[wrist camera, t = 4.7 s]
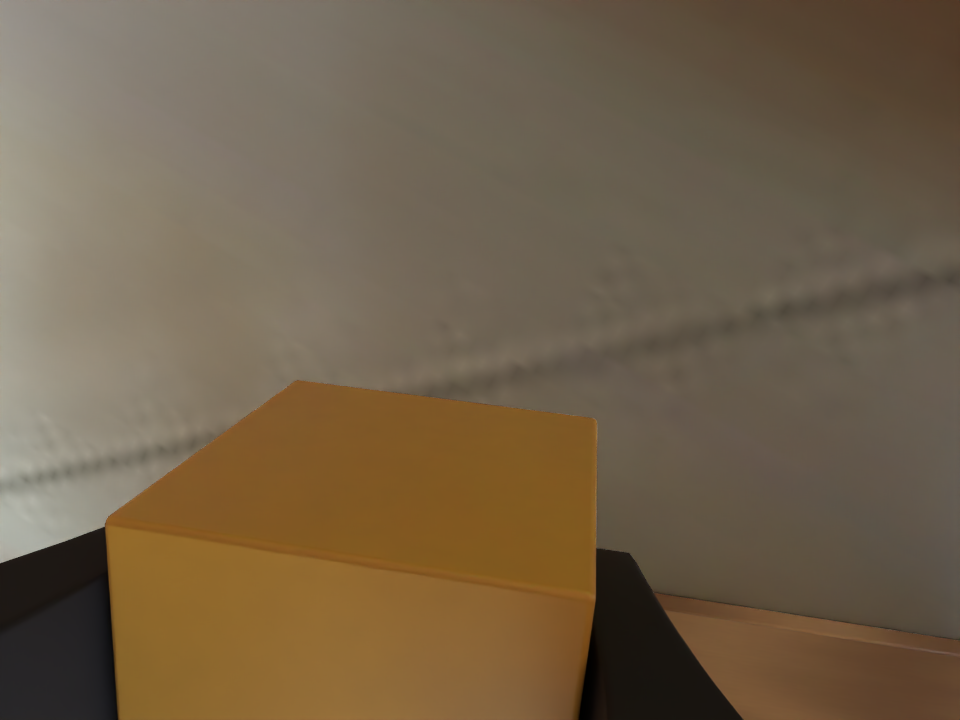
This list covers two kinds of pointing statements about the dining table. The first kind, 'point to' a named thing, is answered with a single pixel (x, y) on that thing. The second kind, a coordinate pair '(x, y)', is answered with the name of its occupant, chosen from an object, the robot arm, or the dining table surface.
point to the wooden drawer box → (818, 665)
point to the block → (361, 565)
